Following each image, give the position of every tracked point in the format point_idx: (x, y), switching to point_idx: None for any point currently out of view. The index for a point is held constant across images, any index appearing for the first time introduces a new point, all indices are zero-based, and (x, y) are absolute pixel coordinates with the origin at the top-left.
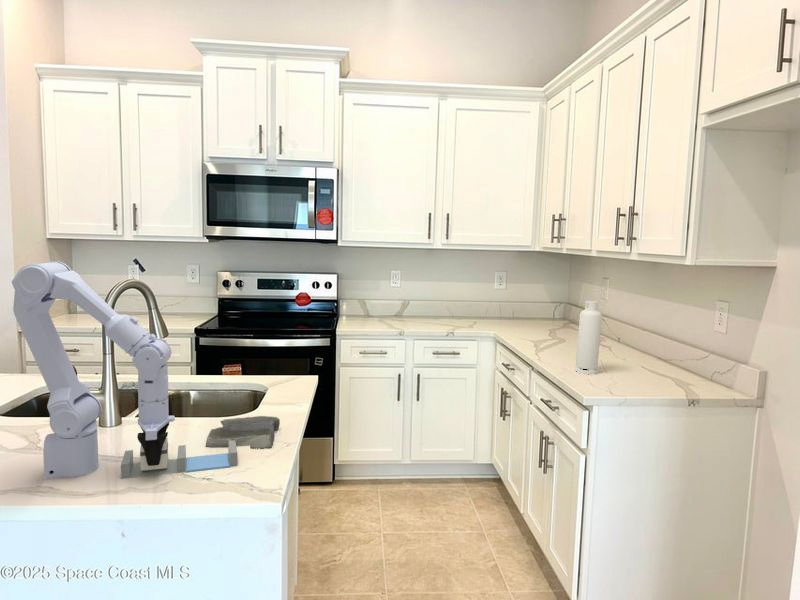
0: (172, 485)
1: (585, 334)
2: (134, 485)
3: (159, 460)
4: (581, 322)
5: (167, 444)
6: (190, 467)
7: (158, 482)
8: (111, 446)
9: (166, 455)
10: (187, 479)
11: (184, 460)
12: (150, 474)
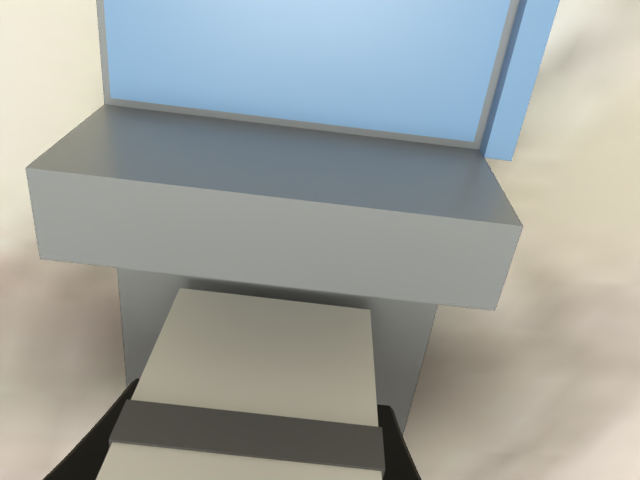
0: (627, 255)
1: None
2: (460, 459)
3: (403, 440)
4: None
5: (188, 452)
6: (428, 90)
7: (499, 339)
8: None
9: (374, 411)
10: (584, 124)
11: (510, 213)
12: (395, 402)
